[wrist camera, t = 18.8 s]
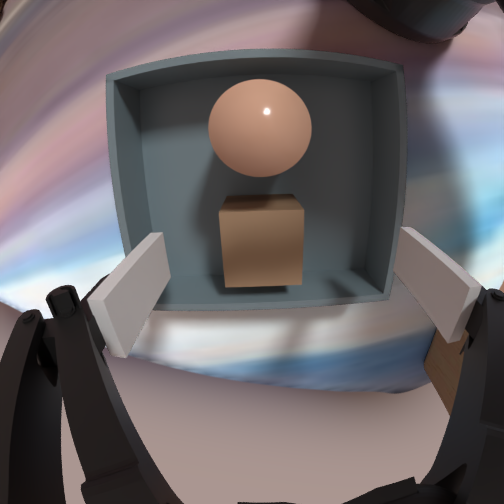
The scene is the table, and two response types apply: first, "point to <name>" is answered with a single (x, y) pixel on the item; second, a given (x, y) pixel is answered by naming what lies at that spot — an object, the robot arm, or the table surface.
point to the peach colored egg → (259, 128)
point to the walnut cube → (262, 240)
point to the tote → (288, 182)
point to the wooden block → (445, 367)
